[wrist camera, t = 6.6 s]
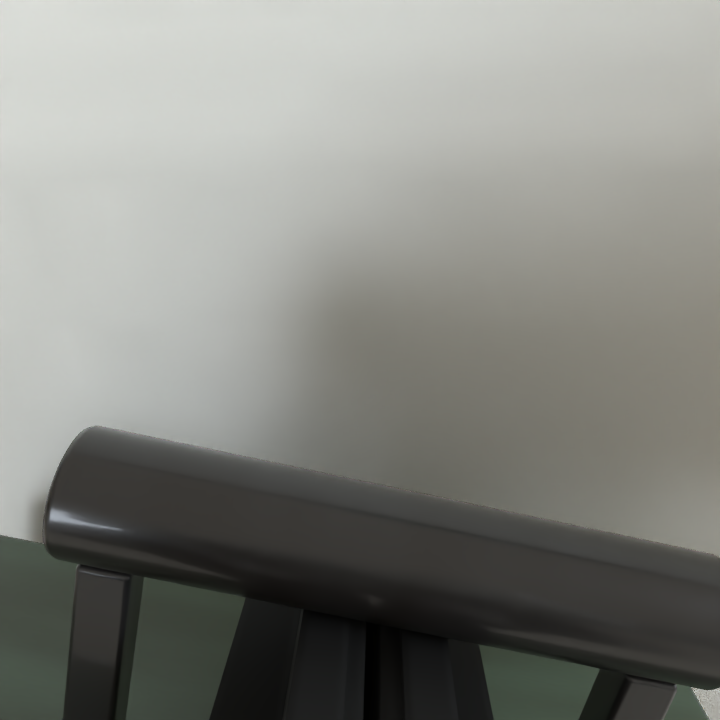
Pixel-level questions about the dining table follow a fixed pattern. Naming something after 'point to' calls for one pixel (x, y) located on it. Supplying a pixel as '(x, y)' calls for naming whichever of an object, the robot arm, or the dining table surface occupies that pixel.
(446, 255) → the dining table surface
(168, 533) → the drawer
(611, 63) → the dining table surface
